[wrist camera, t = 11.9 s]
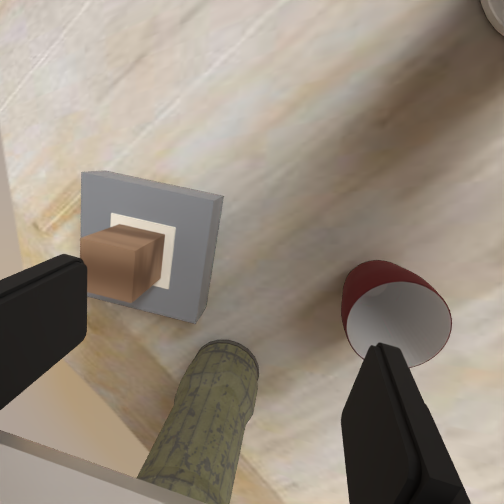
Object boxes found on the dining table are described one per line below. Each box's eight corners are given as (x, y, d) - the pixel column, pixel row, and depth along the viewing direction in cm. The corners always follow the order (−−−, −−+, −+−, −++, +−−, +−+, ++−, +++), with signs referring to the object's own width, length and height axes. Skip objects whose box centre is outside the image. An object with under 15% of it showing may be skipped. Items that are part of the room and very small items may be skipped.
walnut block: (119, 223, 32) (80, 237, 26) (165, 234, 31) (135, 250, 26) (117, 267, 33) (79, 290, 28) (160, 278, 33) (131, 303, 27)
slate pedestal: (105, 170, 35) (80, 172, 31) (223, 196, 34) (213, 200, 30) (101, 281, 39) (78, 295, 35) (205, 307, 38) (195, 324, 34)
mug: (445, 274, 32) (505, 321, 23) (404, 333, 35) (442, 397, 26) (355, 233, 33) (377, 263, 23) (320, 294, 35) (327, 344, 26)
